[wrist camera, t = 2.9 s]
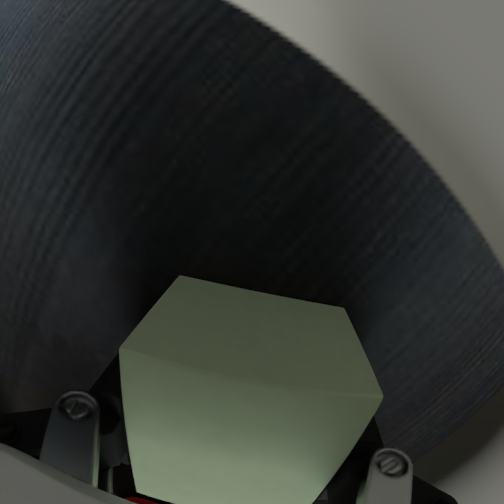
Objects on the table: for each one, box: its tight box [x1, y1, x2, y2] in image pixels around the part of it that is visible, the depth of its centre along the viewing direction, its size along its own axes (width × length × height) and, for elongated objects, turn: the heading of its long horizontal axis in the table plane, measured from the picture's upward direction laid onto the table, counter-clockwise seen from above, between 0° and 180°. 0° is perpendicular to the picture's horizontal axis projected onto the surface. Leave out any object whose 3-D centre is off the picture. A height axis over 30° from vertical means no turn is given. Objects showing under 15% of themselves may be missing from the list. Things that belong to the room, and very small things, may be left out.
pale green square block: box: [119, 275, 383, 504], centre depth 8 cm, size 6×6×4 cm
